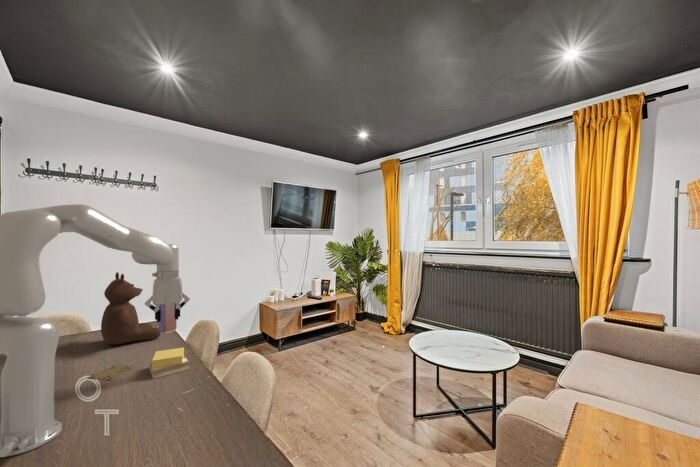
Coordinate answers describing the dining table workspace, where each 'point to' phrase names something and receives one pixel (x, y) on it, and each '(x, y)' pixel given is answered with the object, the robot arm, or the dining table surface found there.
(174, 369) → the tower base
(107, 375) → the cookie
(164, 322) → the beverage can
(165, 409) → the dining table surface
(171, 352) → the tower top
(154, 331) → the stuffed bear
